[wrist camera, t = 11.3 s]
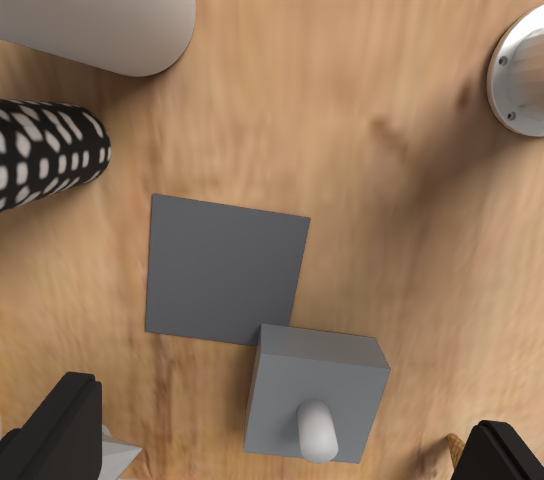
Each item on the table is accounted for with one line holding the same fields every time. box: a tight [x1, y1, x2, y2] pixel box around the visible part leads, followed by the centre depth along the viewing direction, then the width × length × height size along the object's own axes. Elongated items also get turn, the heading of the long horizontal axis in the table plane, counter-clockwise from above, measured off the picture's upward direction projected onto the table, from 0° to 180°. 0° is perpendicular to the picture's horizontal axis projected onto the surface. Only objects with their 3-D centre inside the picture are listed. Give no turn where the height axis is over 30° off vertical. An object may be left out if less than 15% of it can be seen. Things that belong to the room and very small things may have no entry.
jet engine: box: [98, 424, 143, 480], centre depth 42 cm, size 15×20×18 cm
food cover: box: [243, 323, 391, 464], centre depth 43 cm, size 15×15×11 cm
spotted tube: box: [0, 99, 111, 213], centre depth 29 cm, size 8×8×20 cm
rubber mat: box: [145, 194, 310, 346], centre depth 44 cm, size 18×18×1 cm
